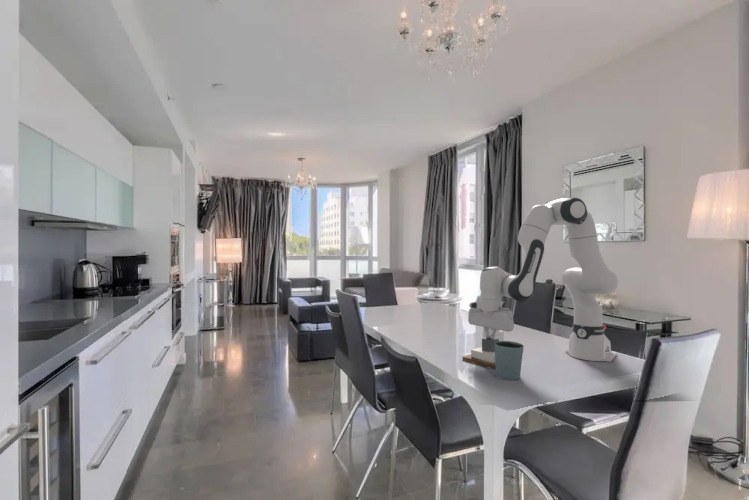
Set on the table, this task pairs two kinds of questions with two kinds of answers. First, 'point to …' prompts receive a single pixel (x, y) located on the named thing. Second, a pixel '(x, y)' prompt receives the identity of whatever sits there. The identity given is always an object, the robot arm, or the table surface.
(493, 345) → the plug
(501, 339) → the medicine bottle
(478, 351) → the socket
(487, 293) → the robot arm
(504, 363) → the teal cup
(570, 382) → the table surface
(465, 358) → the mounting board
